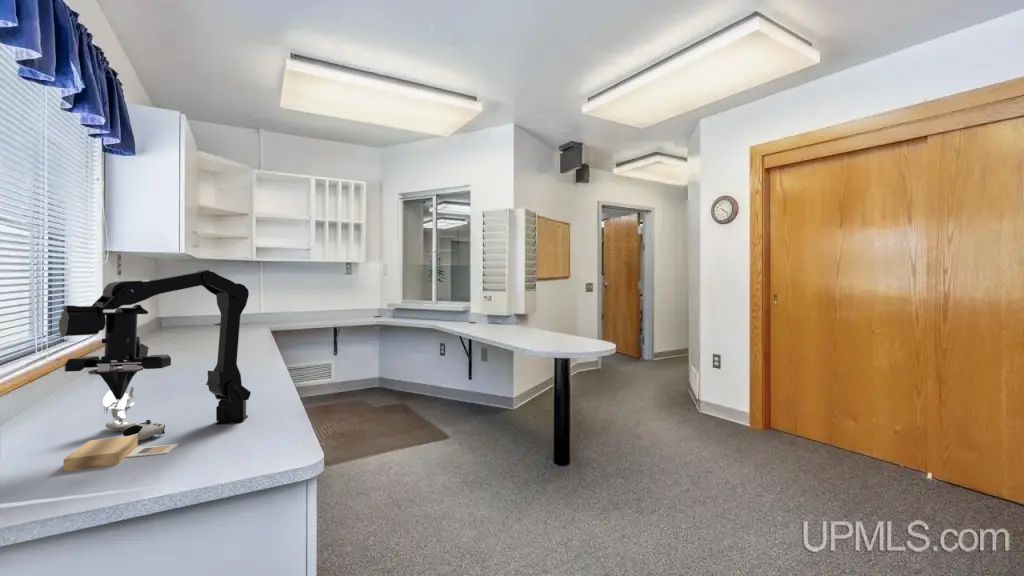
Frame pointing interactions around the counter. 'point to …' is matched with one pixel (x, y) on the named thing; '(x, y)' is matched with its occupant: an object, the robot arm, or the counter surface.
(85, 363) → the robot arm
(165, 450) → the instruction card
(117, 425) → the figurine
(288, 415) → the counter surface
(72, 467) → the base brick
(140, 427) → the game controller
